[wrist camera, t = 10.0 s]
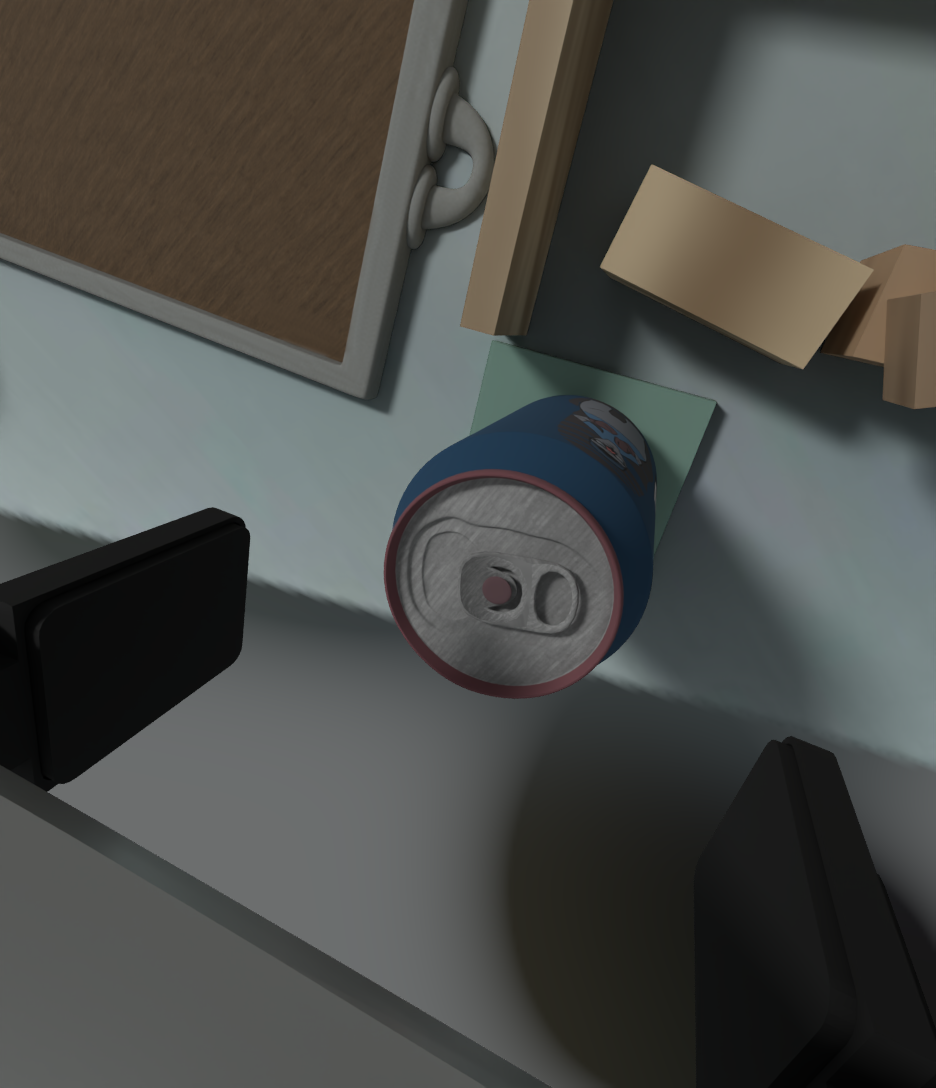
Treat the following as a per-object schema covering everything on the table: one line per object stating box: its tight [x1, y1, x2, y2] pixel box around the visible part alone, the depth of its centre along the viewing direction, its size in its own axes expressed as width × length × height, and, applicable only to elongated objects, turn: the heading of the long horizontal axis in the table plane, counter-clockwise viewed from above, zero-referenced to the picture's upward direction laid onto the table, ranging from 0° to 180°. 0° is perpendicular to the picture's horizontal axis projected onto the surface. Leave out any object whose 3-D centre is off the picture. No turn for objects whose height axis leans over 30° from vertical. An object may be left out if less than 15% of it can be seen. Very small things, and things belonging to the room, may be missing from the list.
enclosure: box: [460, 0, 613, 335], centre depth 16 cm, size 23×15×5 cm, turn 75°
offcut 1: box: [600, 164, 874, 369], centre depth 19 cm, size 7×3×4 cm, turn 64°
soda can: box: [384, 395, 657, 699], centre depth 19 cm, size 7×7×12 cm
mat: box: [470, 341, 717, 555], centre depth 24 cm, size 9×9×1 cm
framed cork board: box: [0, 0, 494, 400], centre depth 24 cm, size 19×2×30 cm
